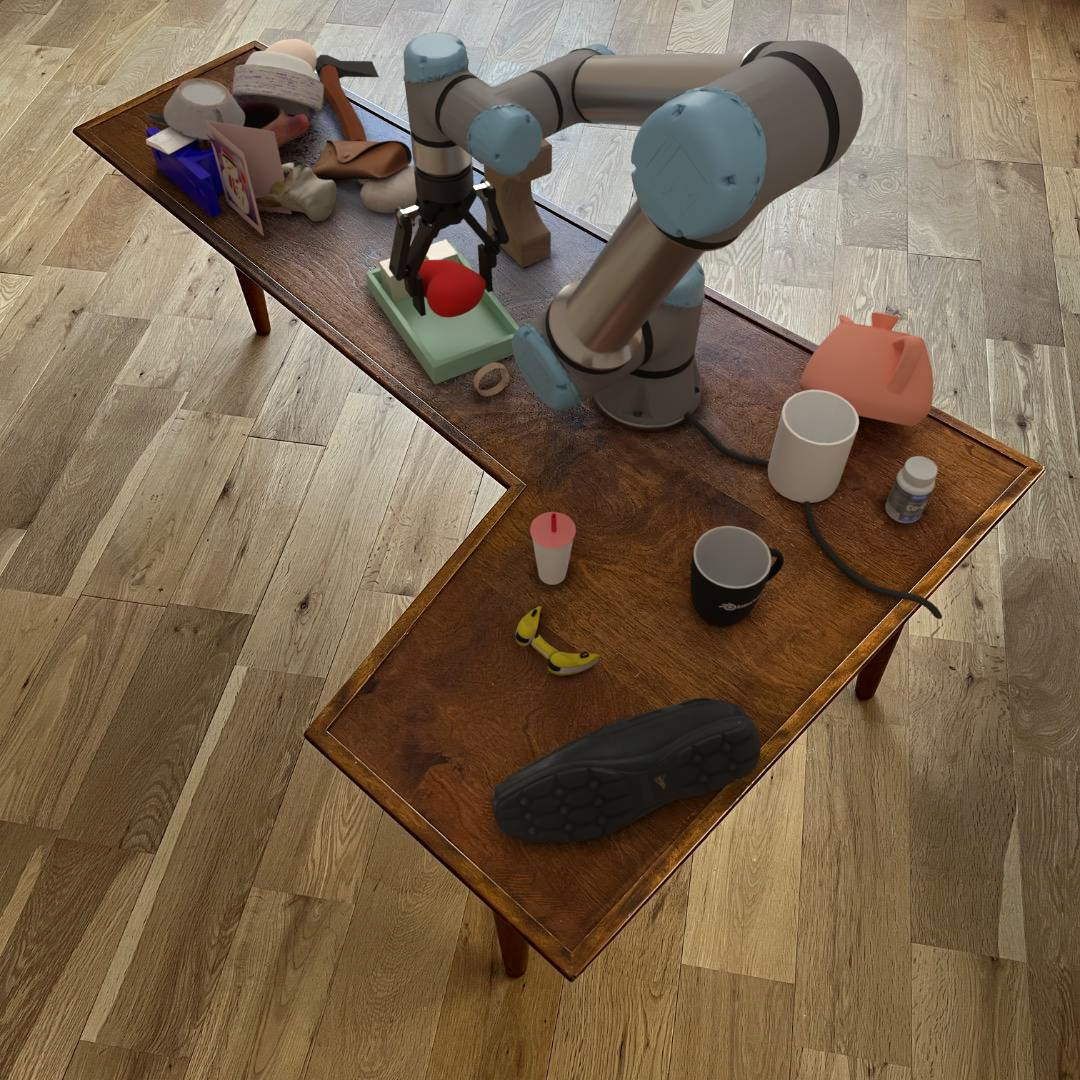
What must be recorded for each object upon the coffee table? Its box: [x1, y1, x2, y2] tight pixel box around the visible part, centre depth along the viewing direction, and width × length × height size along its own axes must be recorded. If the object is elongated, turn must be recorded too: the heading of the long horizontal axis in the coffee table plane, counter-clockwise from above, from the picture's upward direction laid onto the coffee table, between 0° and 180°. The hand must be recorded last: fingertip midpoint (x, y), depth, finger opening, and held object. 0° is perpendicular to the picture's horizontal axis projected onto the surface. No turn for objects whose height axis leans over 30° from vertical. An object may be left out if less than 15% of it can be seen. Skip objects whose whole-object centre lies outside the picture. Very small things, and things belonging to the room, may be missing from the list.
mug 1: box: [689, 525, 785, 628], centre depth 129 cm, size 12×9×10 cm
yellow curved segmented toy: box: [514, 605, 601, 677], centre depth 127 cm, size 10×6×4 cm, turn 45°
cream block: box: [424, 239, 458, 263], centre depth 166 cm, size 4×4×5 cm
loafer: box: [491, 697, 762, 844], centre depth 116 cm, size 10×29×10 cm
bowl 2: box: [239, 102, 310, 149], centre depth 186 cm, size 16×13×8 cm
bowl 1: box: [162, 77, 245, 141], centre depth 179 cm, size 13×13×5 cm
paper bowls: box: [231, 50, 324, 117], centre depth 189 cm, size 15×15×8 cm
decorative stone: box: [359, 165, 417, 214], centre depth 178 cm, size 13×9×5 cm
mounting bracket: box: [145, 125, 225, 219], centre depth 181 cm, size 18×7×6 cm
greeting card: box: [206, 121, 293, 237], centre depth 173 cm, size 11×7×15 cm, turn 40°
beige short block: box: [378, 257, 410, 303], centre depth 164 cm, size 4×4×5 cm
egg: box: [264, 38, 317, 73], centre depth 198 cm, size 9×9×11 cm
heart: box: [419, 260, 486, 317], centre depth 154 cm, size 12×5×10 cm
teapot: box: [799, 311, 934, 427], centre depth 145 cm, size 25×17×13 cm
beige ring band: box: [473, 361, 511, 397], centre depth 152 cm, size 3×5×5 cm, turn 118°
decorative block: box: [483, 138, 553, 269], centre depth 166 cm, size 11×6×20 cm, turn 32°
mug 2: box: [767, 390, 860, 504], centre depth 141 cm, size 10×12×12 cm
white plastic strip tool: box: [145, 126, 195, 154], centre depth 180 cm, size 5×15×1 cm, turn 146°
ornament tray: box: [365, 242, 521, 385], centre depth 162 cm, size 24×15×3 cm, turn 29°
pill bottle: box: [884, 455, 939, 524], centre depth 138 cm, size 5×5×8 cm
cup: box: [529, 511, 577, 586], centre depth 131 cm, size 5×5×12 cm
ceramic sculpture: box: [253, 160, 337, 222], centre depth 177 cm, size 11×9×15 cm
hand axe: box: [315, 54, 380, 141], centre depth 197 cm, size 12×3×30 cm
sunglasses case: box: [311, 139, 413, 180], centre depth 181 cm, size 18×7×7 cm
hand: (453, 298), depth 156 cm, fingers closed on heart, 10 cm apart
